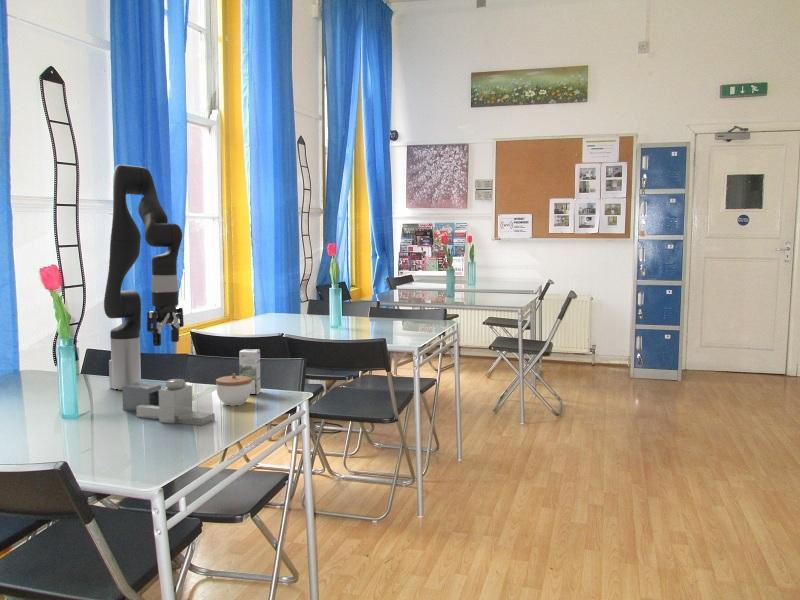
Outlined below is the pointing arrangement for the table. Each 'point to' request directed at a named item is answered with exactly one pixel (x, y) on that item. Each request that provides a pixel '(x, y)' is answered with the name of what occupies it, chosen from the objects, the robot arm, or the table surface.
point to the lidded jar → (233, 389)
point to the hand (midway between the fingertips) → (166, 343)
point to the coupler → (175, 406)
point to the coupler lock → (140, 395)
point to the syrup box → (251, 367)
